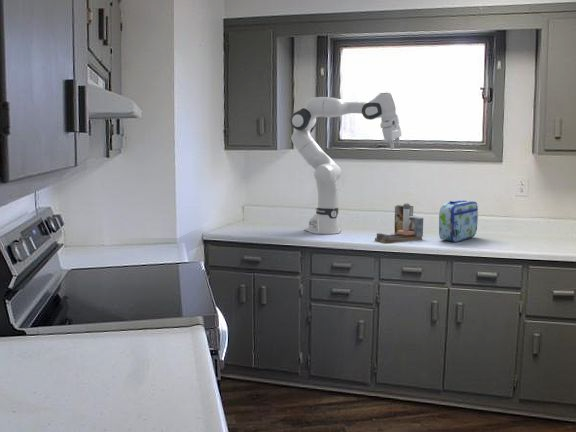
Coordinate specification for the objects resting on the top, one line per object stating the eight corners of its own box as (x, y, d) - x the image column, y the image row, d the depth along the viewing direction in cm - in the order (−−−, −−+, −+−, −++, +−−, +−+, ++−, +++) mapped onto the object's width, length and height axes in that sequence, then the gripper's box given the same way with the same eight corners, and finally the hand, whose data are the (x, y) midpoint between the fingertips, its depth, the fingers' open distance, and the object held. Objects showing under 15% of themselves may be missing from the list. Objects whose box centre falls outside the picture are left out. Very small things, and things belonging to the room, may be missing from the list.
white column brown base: (397, 233, 335) (397, 202, 333) (405, 232, 338) (406, 202, 336) (406, 235, 329) (407, 204, 327) (414, 234, 332) (415, 203, 330)
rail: (374, 240, 329) (374, 218, 327) (409, 236, 342) (410, 215, 341) (386, 243, 321) (387, 221, 319) (422, 239, 334) (423, 217, 332)
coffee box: (413, 234, 350) (414, 205, 348) (409, 236, 344) (410, 207, 342) (397, 233, 354) (398, 204, 352) (393, 234, 348) (394, 206, 346)
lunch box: (453, 243, 321) (455, 203, 318) (435, 241, 329) (437, 201, 326) (479, 237, 339) (481, 199, 336) (461, 235, 347) (463, 197, 344)
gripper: (390, 120, 345) (395, 145, 347) (379, 125, 327) (384, 151, 329) (401, 118, 342) (406, 143, 344) (390, 123, 324) (395, 149, 326)
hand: (395, 147), depth 336 cm, fingers open, 8 cm apart
